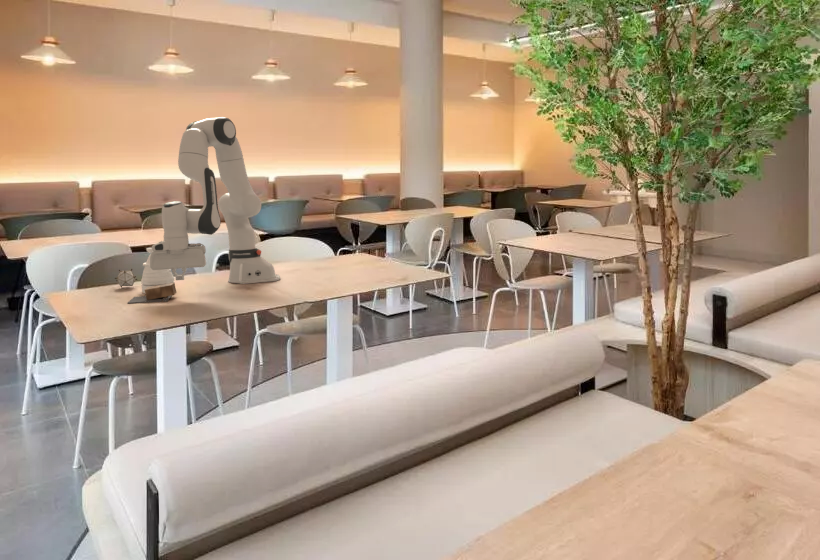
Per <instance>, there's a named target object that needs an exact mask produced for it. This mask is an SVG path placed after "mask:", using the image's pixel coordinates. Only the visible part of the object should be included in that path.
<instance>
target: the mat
mask: <svg viewBox="0 0 820 560" xmlns="http://www.w3.org/2000/svg"><path fill="white" fill-rule="evenodd" d="M163 299H164V297H161V298H156V299H150V300H147V298H146V295H141V296H133V297H132V298H131V299H130V300H128V301H127V305H128V304H145V303H156V302H158V303H159V302H163V301H164V300H163Z"/></svg>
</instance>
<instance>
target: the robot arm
mask: <svg viewBox="0 0 820 560" xmlns="http://www.w3.org/2000/svg"><path fill="white" fill-rule="evenodd" d="M209 147H213V148H214V151H215V157H216V158H215V159H216V164H217V168H218V172H219V173H218V174H219V178H220V180H221V182H222V183H223V185H224V186H225V188H226V190H227V192H226V193H224V194H222V195H221V196H220V198H219V199H218V193H217V183H216V177H215V173H214V171H213V170H212V169H211V168H210V166H209ZM178 149H179V150H178V158H177V159H178V160H177V161H178V162H177V165H178V169H179V171H180V172H181V173H182V175H183V176H185V177H186V178H189V179H191V180H193V181H195V182H198V184H200V186H201V189H202V202H203V206H202V208H189V207H187V206H185V205H184V202H183V201H180V200H173V201H168V202H166V203H164V204H163V205H162V208H161V224H162V229H163V241H159V242H157V243H154V244H153V245H152V246H151V248H152V250H153V252H152V253H150V254H151V255H150V254H149V255H150V268H151V269H152V270H163V269H171V272H172V275H173V276H174V278H175V281H184V280H185V274H186V272H187V269H192V268H193V269H194V268H196V269H197V268H204V267H205V266H206V265H207V259H206V255H205V254H206V252H207V250H206V246H205V245H204V244H203V243H200V242H198V243H190V242H189V234H194V235H195V234H201V235H210V236H211V235H214V234H215V233H216V232H217V231H218V230H219V229H220V227H221V224H222V223H221V215H220V212H221V214H222V215H223V219H224V221H225V224H226V225H225V226H226V228H227V235H228V243H229V244H228V245H229V249H228V260H229V274H228V275H229V276H228V283H231V284H232V283H233V284H241V285H244V284H256V283H266V282H267V283H269V282H277V281H280V280H281V275H280V274H276V271H275V267H274V265H273V264H272V263H271V262H269V261H268V260H267V259H265V258H264V257H262V256H261V255H262V250H260V249H259V248H257V247H256V238H255V237H256V236H255V229H254V228H253V226H252V225H251V223H250V219H249V218H252V217H255V216H257V215H258V214H259V213H260V212H261V209H262V201H261V198H260V197H259V195H257V194H256V193H255V191H254V188H253V186H252V185H251V183H250V180H249V177H248V174H247V169H246V164H245V161H244V159H245V158H244V155H243V151H242V147H241V144H240V142H239V139H238V137H237V130H236V126H235V124H234V122H233V121H232V120H231V119H230V118H228V117H224V116H219V117H210V118H205V119H201V120H199V121H192V122H190V123H189V124H188V125H187V126H186V129H185V130H184V131H183V133H182V136H181V140H180V145H179V148H178ZM219 211H220V212H219ZM178 269H181V272H182V274H178V273H177V270H178Z"/></svg>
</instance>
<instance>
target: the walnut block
mask: <svg viewBox="0 0 820 560" xmlns="http://www.w3.org/2000/svg"><path fill="white" fill-rule="evenodd" d="M176 294H177V289H176V283H168V284H163V285H157V286H151V287H147V288H146V289H145V296H146V298H147V300H150V299H156V298H161V297H167V296H171V297H172V296H175V295H176Z"/></svg>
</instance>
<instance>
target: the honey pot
mask: <svg viewBox="0 0 820 560" xmlns="http://www.w3.org/2000/svg"><path fill="white" fill-rule="evenodd" d="M146 252H147V253H149V255H148V257H147V260H146V262H143V263H142V267H144V268H143V271H142V275H141V276H142V278H141V279H140V282H141V293H142V292H143V293H142V294H144V293H145V289H146V288H147V287H151V286H157V285H163V284H168V283H175V275H174V274H173V273H172V269H163V270H152V269H151V268H150V255H151V253H152V252H153V250H152V247H146ZM175 284H176V283H175Z"/></svg>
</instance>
